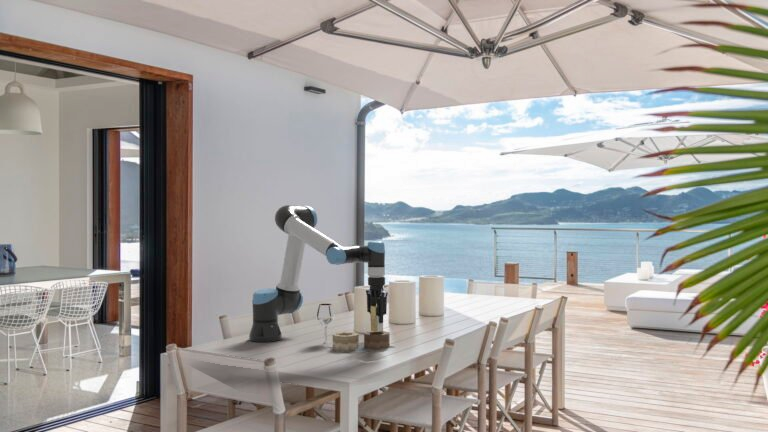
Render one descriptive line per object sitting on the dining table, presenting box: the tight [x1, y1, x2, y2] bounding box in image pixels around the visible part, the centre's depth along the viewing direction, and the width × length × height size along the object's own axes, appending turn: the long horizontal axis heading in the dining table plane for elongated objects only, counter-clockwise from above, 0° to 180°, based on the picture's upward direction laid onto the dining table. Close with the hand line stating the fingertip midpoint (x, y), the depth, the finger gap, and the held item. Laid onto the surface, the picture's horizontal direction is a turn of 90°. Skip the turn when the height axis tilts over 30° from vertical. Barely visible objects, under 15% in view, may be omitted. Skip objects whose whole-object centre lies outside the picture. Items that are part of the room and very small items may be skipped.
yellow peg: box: [370, 304, 384, 332], centre depth 293 cm, size 4×4×11 cm
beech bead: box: [332, 331, 360, 351], centre depth 291 cm, size 11×11×6 cm
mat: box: [327, 341, 395, 355], centre depth 292 cm, size 24×18×1 cm
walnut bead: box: [363, 330, 391, 350], centre depth 293 cm, size 11×11×6 cm
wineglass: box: [316, 303, 336, 344], centre depth 304 cm, size 8×8×18 cm
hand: (376, 329), depth 293 cm, fingers closed on yellow peg, 4 cm apart
